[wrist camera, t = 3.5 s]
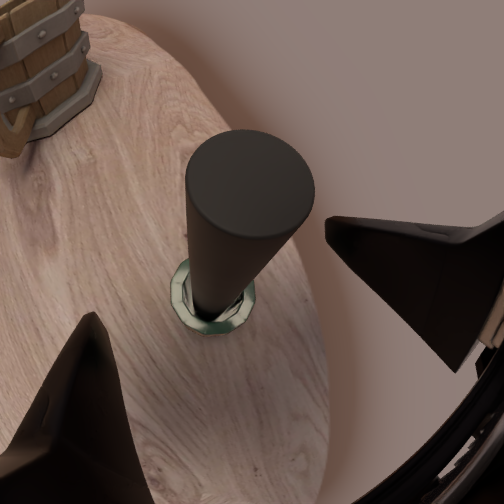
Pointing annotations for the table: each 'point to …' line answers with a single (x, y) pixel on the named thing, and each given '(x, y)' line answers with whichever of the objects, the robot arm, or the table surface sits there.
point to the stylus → (240, 212)
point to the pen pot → (198, 324)
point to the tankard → (42, 70)
